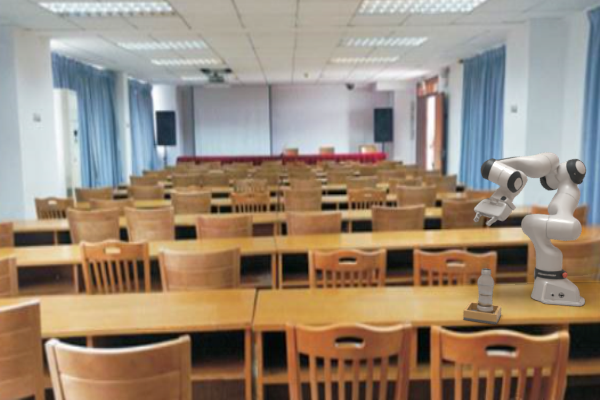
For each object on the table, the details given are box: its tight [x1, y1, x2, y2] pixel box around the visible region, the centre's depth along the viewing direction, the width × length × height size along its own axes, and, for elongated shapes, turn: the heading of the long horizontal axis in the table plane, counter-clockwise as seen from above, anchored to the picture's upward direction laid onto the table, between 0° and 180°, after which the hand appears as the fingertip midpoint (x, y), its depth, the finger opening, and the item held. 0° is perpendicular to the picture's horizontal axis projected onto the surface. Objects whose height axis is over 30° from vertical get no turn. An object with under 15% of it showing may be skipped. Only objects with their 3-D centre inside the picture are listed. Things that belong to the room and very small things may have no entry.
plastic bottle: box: [477, 267, 495, 314], centre depth 227 cm, size 6×7×20 cm
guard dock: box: [462, 301, 502, 325], centre depth 230 cm, size 13×13×4 cm
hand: (481, 223), depth 253 cm, fingers open, 8 cm apart
